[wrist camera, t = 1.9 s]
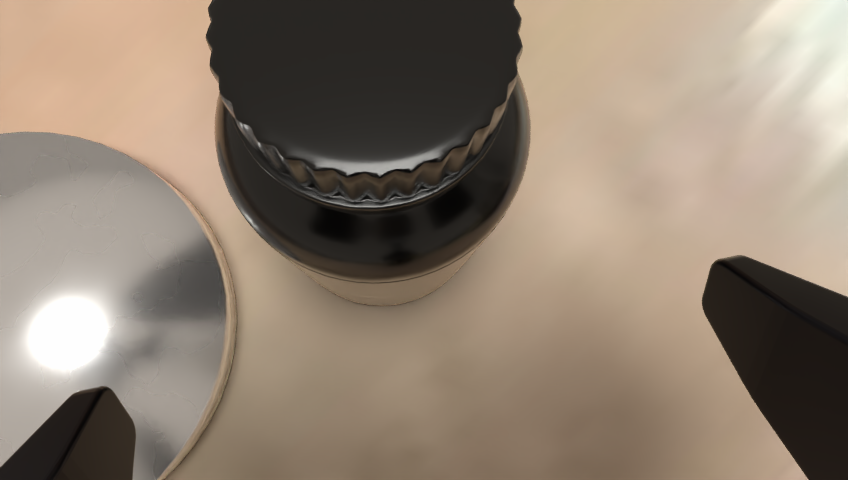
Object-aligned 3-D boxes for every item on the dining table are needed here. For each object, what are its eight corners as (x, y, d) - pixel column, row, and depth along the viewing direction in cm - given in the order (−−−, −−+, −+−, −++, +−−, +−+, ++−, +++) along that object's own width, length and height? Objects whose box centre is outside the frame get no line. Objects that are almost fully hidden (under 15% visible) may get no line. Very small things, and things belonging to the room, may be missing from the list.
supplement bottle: (509, 183, 20) (674, -27, 9) (414, 343, 19) (453, 357, 7) (352, 89, 21) (302, -241, 9) (248, 241, 19) (28, 96, 8)
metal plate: (61, 628, 17) (29, 655, 15) (-260, 385, 18) (-320, 389, 16) (313, 283, 19) (306, 278, 18) (21, 79, 20) (-9, 58, 18)
